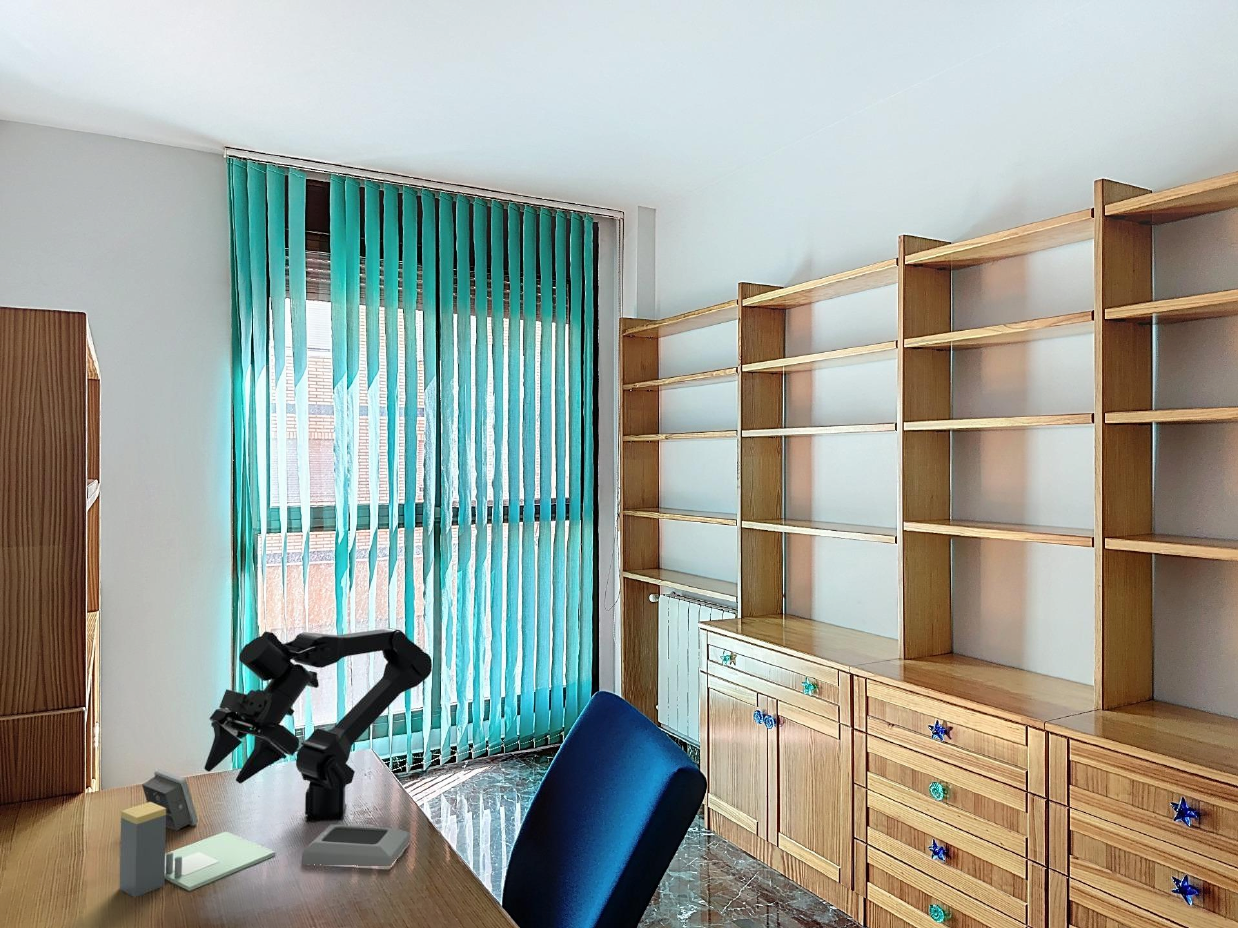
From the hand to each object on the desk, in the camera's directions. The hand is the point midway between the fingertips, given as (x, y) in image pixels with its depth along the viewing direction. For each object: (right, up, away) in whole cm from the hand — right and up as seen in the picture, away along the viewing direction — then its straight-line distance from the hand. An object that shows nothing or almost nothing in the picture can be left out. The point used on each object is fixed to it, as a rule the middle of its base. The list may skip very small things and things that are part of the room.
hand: (221, 775), depth 146 cm
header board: (-1, -13, -2) cm, 13 cm away
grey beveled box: (+22, -14, +1) cm, 26 cm away
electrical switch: (-15, -13, +12) cm, 23 cm away
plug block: (-7, -13, -11) cm, 19 cm away
